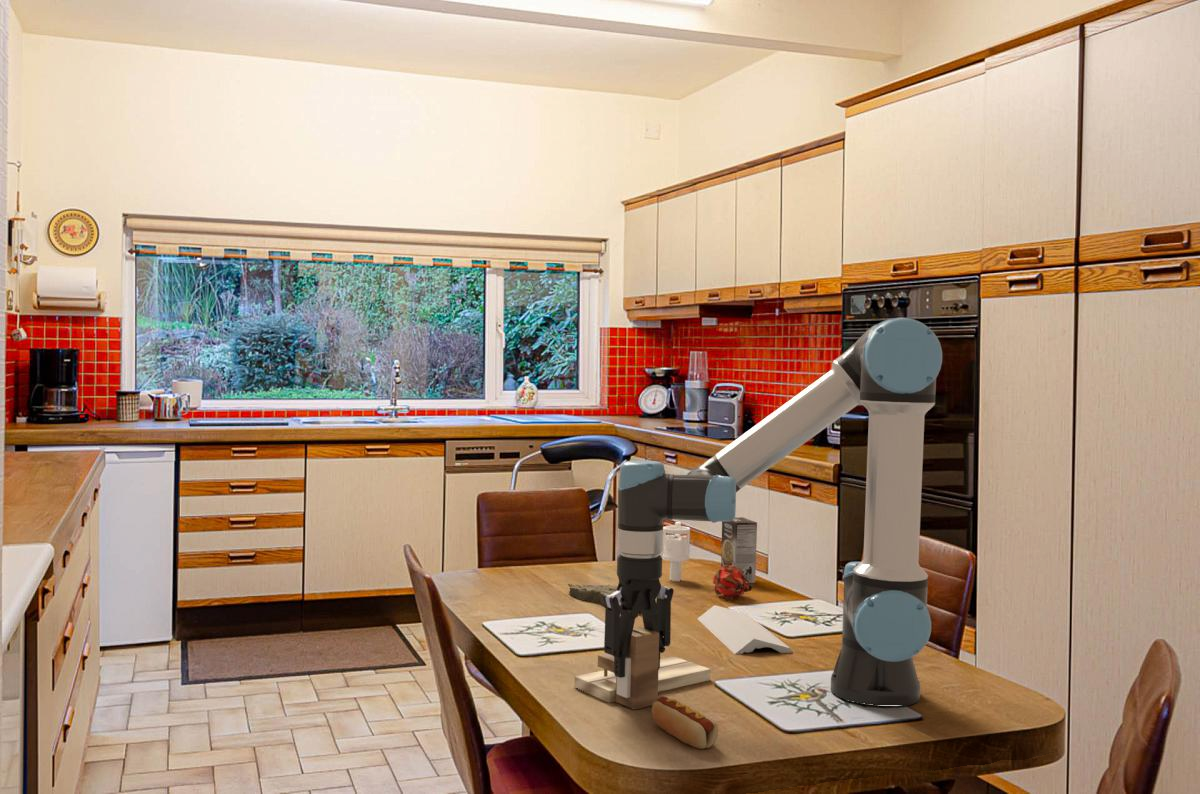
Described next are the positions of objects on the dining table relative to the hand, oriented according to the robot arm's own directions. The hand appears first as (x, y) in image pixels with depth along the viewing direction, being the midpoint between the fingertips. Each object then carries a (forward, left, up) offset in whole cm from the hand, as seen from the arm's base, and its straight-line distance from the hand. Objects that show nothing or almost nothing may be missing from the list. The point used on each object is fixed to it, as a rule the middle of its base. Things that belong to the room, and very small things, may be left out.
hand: (636, 692), depth 176 cm
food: (-16, +4, -2) cm, 17 cm away
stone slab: (+63, -43, -3) cm, 76 cm away
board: (+8, -8, -2) cm, 11 cm away
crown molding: (+23, -48, -3) cm, 53 cm away
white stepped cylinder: (+73, -73, -2) cm, 103 cm away
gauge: (+3, 0, -2) cm, 4 cm away
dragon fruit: (+50, -71, -2) cm, 87 cm away
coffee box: (+64, -88, -2) cm, 109 cm away
